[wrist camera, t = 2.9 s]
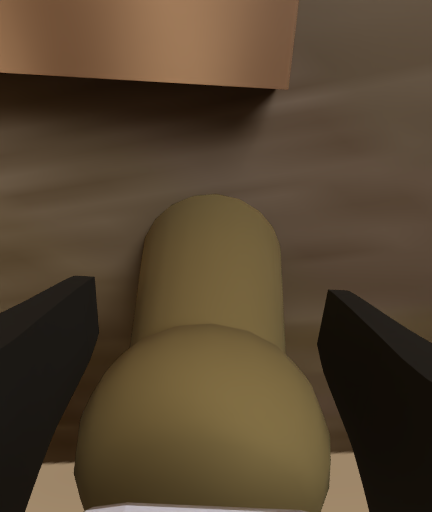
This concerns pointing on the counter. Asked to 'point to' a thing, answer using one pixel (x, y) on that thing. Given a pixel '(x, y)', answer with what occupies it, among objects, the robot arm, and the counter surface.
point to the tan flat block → (152, 40)
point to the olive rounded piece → (206, 377)
